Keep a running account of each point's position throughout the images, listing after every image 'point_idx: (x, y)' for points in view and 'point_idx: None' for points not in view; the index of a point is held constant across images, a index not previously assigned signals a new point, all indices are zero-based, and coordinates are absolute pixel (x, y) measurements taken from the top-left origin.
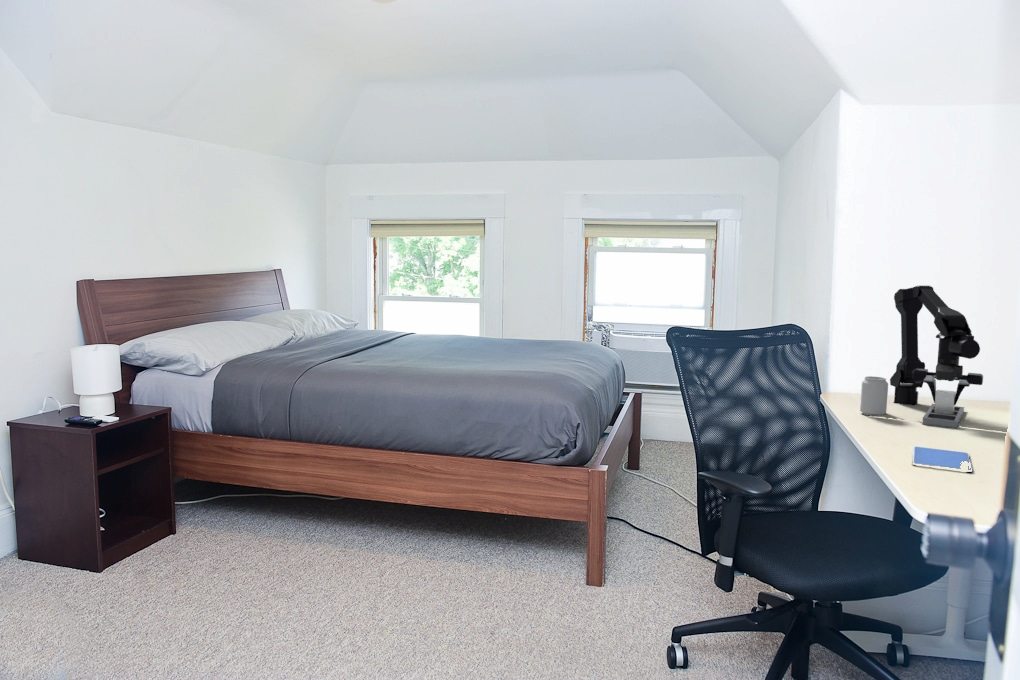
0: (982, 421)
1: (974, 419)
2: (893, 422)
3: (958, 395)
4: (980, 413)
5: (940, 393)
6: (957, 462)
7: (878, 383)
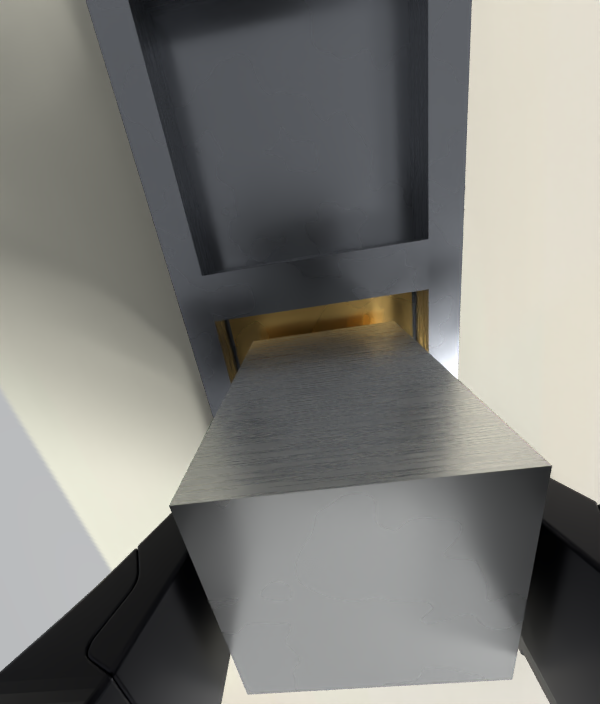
0: (129, 454)
1: None
2: None
3: (153, 542)
4: None
5: (435, 458)
6: None
7: None
